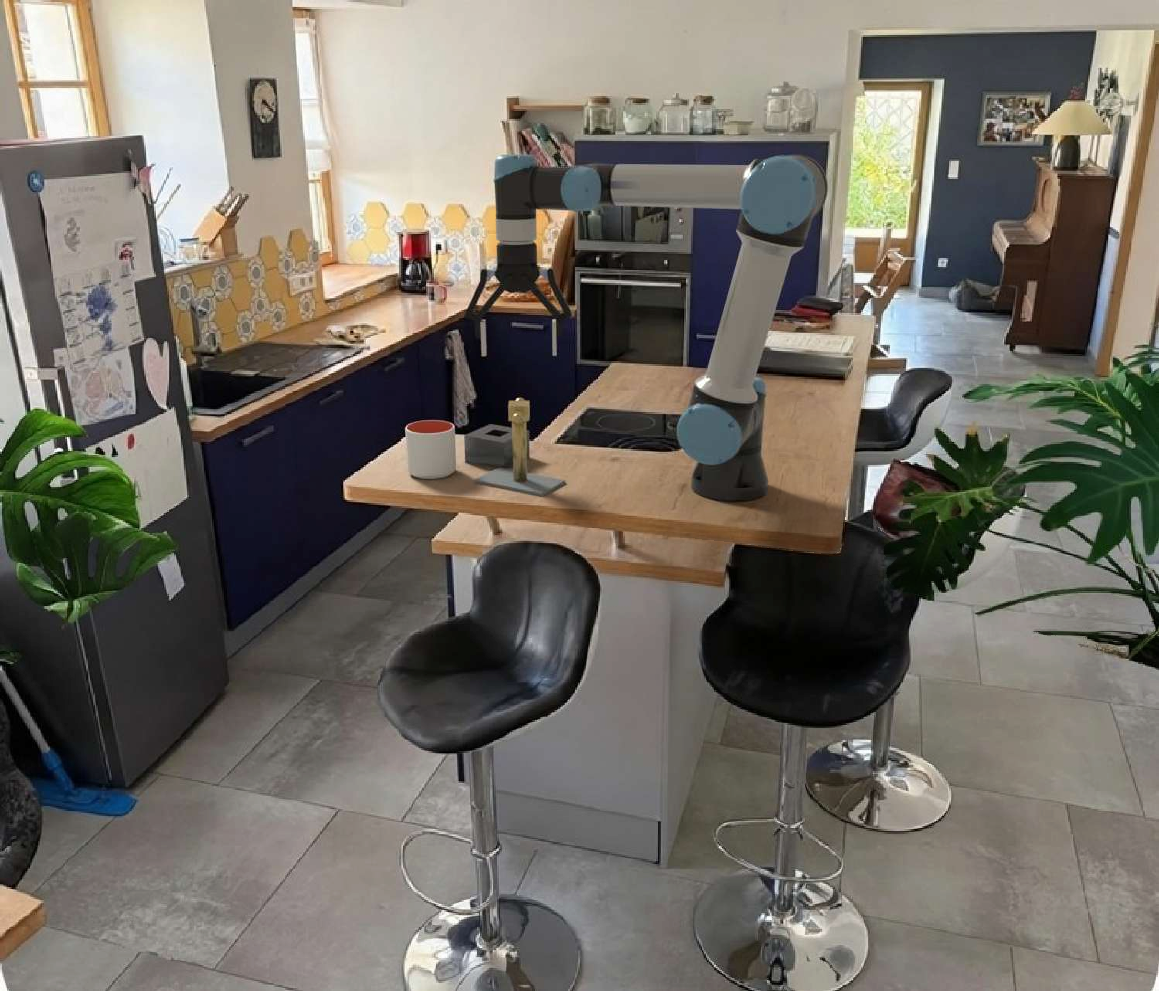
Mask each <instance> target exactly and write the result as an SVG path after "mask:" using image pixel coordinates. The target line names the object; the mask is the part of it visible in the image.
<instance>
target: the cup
mask: <svg viewBox="0 0 1159 991" xmlns="http://www.w3.org/2000/svg"><path fill="white" fill-rule="evenodd" d="M404 431H405V448H406V449H405V451H406V465H407V471H408V473H409V474H410V475H412V476H413V477H414V478H415V477H416V478H418V479H423V480H437V479H442V478H446V477H449V476H450V475H452V474H454V472H455V471H456V469H457V458H456V457H457V451H456V427H455V425H454V424H453V423H451V422H449V421H445V420H437V419H434V420H433V419H429V420H420V421H414V422H411V423H408V424H407V425H406V426H405V428H404Z"/></svg>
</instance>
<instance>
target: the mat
mask: <svg viewBox="0 0 1159 991" xmlns="http://www.w3.org/2000/svg"><path fill="white" fill-rule="evenodd" d="M474 483H475V484H480V485H485V486H490V487H495V488H500V489H504V490H510V491H515V492H519V493H525V494H527V495H528V494H529V495H534V496H539V497H544V496H546V495H547V494H549V493H551V492H553V491H554V490H556V489H557V488H560V487H561V486H563V485H564V484H566V480H565V479H561V478H555V477H551V476H547V475H540V474H535V473H530V472H527V481H525V482H515V481H514V480H513V469H510V468H508V469H505V468H500V467H499V468H497V469H496V468H494V469H493V470H490V471H489V472H487V473H485V474H483V475H481V476H479V477H477V478H475V479H474Z"/></svg>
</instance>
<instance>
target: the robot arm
mask: <svg viewBox="0 0 1159 991" xmlns="http://www.w3.org/2000/svg"><path fill="white" fill-rule="evenodd" d="M828 182H829V181H828V178H827V175H826V173H825V171H824V169H823V167H822V166H821V165H820V164H819V163H818V162H817V161H816V160H814V159H813V158H812V157H809V156H806V155H804V154H787V155H785V154H782V155H775V156H771V157H768V158H766V159H758V158H757V159H754V160H753V161H752V162H750V164H746V165H745V164H741V165H739V164H735V165H734V164H648V163H647V164H646V163H645V164H637V163H635V164H632V163H628V164H627V163H621V164H619V163H617V164H612V163H603V162H593V163H592V162H591V163H590V162H589V163H588V164H580V165H579V164H578V165H569V166H568V165H567V166H539V165H537V163H536V158H535V156H534V155H533V154H500V155H498V156H497V157H496V158H495V160H494V179H493V183H494V197H495V198H494V199H495V237H496V240H497V241H499V242H498V243H497V244H496V269H488V268H487V267H482V268H481V270H480V274H479V282H478V285H477V287H476V289H475V291H474V293H473V295H472V298H471V300H470V302H469V303H468V306H467V308H466V311H465V313H464V317H465V319H469V320H471V321H473V323H474V334H475V335H474V337H475V339H480V343H481V344H480V347H481V348H480V350H481V357H486V356H487V327H486V326H487V325H486V319H483V318H484V316H486V314H487V313H488V311H489V310H490V309H491V308H492V306H493V305H495V302H496V301H497V300H498V299H499V298H500V296H501V295H503V293H504V292H507V293H509V294H514V293H520V294H526V293H528V292H529V291H530V292H531V293H532V294H533V295H534V296H535V298H537V299H538V301H539V302H540V303H541V304H542V305H543V306H544V308H546V310H547V311H548V312H549V313H550V314H551V315H552V316H553V319H552V321H551V332H552V333H551V335H552V336H551V337H552V343H551V344H552V356H553V357H555V356H556V357H557V354H558V353H557V349H558V348H557V338H562V337H563V321H564V320H566V319H569V318H571V317H572V315H573V314H572V310H571V308H570V306H569V304H568V302H567V300H566V298H565V297H564V294H563V292H562V290H561V288H560V286H559V284H558V282H557V280H556V279H555V270H554V268H553V267H551V266H550V267H548V268H544V269H543V268H542V269H539V267H538V245H537V243H536V242H535V240H537V237H538V236H537V235H538V234H537V231H538V230H537V229H538V228H537V210H538V211H539V210H553V211H571V212H574V213H577V212H585V211H589V212H590V211H593V210H594V209H596V207H597V206H600V207H601V206H606V207H607V206H608V207H610V206H611V207H614V206H615V207H617V206H618V207H619V206H620V207H621V206H623V207H648V208H649V207H653V208H654V207H657V208H691V209H719V210H720V209H721V210H724V209H726V210H741V212H740V215H739V220H738V223H737V226H736V229H735V230H736V233H737V235H738V237H739V239H740V240H741V246H740V250H739V253H738V258H737V260H736V263H735V264H736V265H735V267H734V271H733V275H732V278H731V282H730V286H729V290H728V294H727V297H726V300H725V303H724V308H723V311H722V315H721V318H720V321H719V322H720V323H719V324H718V325H719V326H718V329H717V333H716V336H715V339H714V343H713V347H712V350H711V354H710V358H709V362H708V364H707V367H706V368H707V369H706V372H705V374H703V375H702V376H699V377H698V378H696V379H695V381H694V384H693V388H692V391H691V394H690V398H689V402H688V405H687V408H686V409H685V410H684V411H683V413H682V414H681V416H680V417H679V420H678V423H677V426H676V437H677V440H678V444H679V446H680V447H681V448H682V450H683V452H684V453H685V454H686V455H687V456H688V457H689V458H690V459H691V460H693V461H695V462H696V464H695V466H694V468H693V471H692V474H691V478H690V479H691V484H690V485H691V486H690V487H691V490H692V491H693V492H694V493H696V494H698V495H700V496H702V497H706V498H709V499H713V500H717V501H726V502H728V501H729V502H741V501H740V500H745V501H751V499H752V500H755V498H756V499H758V498H757V497H759V498H761V496H762V497H764V496H765V495H766V494H767V493H768V488H769V479H768V475H767V471H766V467H765V463H764V460H763V459H764V458H763V455H762V444H763V432H764V420H765V419H764V418H765V405H766V397H767V390H766V382H765V380H764V379H762V378H760V377H758V376H756V375H757V372H758V369H759V366H760V362H761V358H762V356H763V352H764V349H765V345H766V342H767V339H768V335H769V332H770V329H771V326H772V322H773V319H774V315H775V313H776V308H777V305H778V303H779V302H778V301H779V300H780V299H779V298H780V295H781V292H782V288H783V286H784V283H785V278H786V275H787V272H788V268H789V265H790V262H791V258H792V256H793V255H794V254H797V252H799V251H801V250H802V249H804V247H805V244H806V241H807V237H808V234H809V230H810V228H811V223H812V220H813V219H814V217H815V216H816V215H817V214H818V213H819V212H820V211H821V209H822V208H823V207H824V205H825V202H826V200H827V197H828V192H829V183H828ZM492 277H495V278H496V281H498V282H499V285H498V286H497V287H496V289H495V290H494V291H493V292H492V293H491V295H490V296H489V297H488V299H487V300H486V302H485V303H484V304H483V305H482V306H481V308H480V309H479V310H478V311H477V312H474V311H475V308H476V306H477V303H478V301H479V300H480V299H481V298H480V297H481V295H482V293H483V291H484V289H485V286H486V284H487V282H490V281H491V280H492ZM540 277H542V278H543V280H544V281H546V282H547V281H548V284H549V287H550V288H551V290H552V293H553V294H554V297H555V298H556V300H557V302H558V304H559V306H560V308H561V309H562V311H561V312H560V311H559V309H558V308H557V307H556V306H555V305H554V304H553V302H552V300H550V299H549V298H548V297H547V295H546V294H545V292H543V290H541V288H540V287H539V286H538V284H537V283H536V282H537V281H538V279H539V278H540ZM766 492H767V493H766ZM765 493H766V494H765ZM764 494H765V495H764Z"/></svg>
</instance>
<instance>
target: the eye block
mask: <svg viewBox="0 0 1159 991" xmlns="http://www.w3.org/2000/svg"><path fill="white" fill-rule="evenodd" d="M526 435H527V459H528V458H530V430H527V429H526ZM463 438H464V439H463V440H464V441H463V442H464V444H463V445H464V463H466V464H471V465H476V466H477V465H478V466H481V467H485V468H492V469H497V468H499V467H500V468H505V469H510V468H511V467H513V439H512V426H511V427H509V426H503V425H497V424H492V423H490V424H488V425H485V426H484V427H480V428H478V429H476V430H474V431H471V432H469V433H466V434H465V435H464V436H463Z"/></svg>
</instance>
